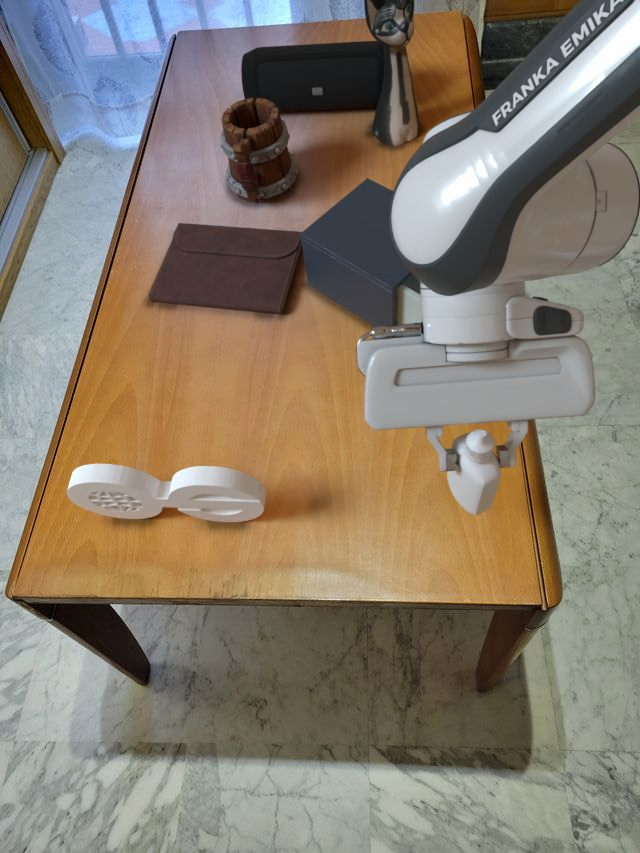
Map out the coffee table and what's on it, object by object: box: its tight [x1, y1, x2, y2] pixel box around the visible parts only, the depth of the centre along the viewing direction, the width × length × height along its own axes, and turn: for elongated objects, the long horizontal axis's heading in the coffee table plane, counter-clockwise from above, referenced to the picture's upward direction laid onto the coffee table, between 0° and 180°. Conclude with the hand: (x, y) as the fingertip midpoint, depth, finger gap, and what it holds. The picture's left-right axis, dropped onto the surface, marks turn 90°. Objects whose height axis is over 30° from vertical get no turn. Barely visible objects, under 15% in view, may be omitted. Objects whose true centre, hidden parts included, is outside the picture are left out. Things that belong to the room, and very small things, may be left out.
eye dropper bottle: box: [446, 429, 502, 516], centre depth 60 cm, size 4×6×12 cm
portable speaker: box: [240, 40, 385, 112], centre depth 108 cm, size 26×10×10 cm, turn 86°
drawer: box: [396, 274, 423, 341], centre depth 82 cm, size 19×12×8 cm, turn 47°
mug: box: [219, 98, 299, 204], centre depth 97 cm, size 12×14×15 cm
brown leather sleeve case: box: [148, 222, 303, 315], centre depth 93 cm, size 15×20×2 cm
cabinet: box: [300, 177, 412, 327], centre depth 86 cm, size 16×14×10 cm
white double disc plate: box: [66, 463, 267, 523], centre depth 71 cm, size 22×2×10 cm, turn 86°
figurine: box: [363, 0, 420, 147], centre depth 96 cm, size 9×7×25 cm
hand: (477, 467), depth 59 cm, fingers closed on eye dropper bottle, 4 cm apart
